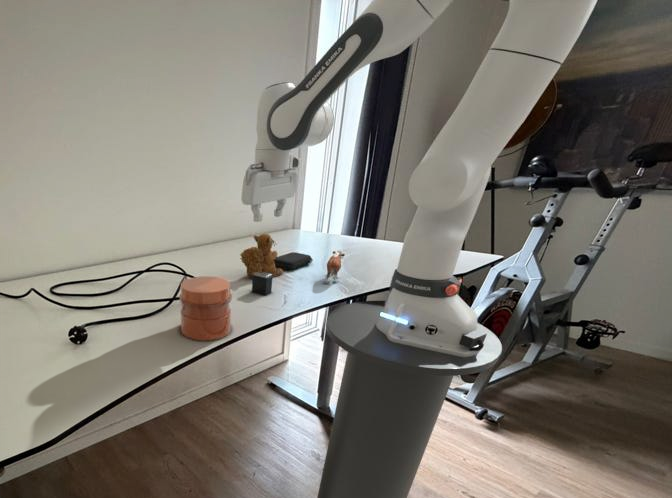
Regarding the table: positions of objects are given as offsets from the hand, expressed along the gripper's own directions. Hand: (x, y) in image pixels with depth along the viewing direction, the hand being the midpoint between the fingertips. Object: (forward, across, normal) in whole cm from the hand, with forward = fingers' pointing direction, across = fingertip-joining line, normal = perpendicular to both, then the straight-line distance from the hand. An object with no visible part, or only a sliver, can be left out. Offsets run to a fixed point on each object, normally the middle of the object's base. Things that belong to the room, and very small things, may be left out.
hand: (268, 218), depth 104 cm
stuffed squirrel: (+21, +12, +10) cm, 26 cm away
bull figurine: (+21, +24, -10) cm, 34 cm away
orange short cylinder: (+21, -31, -5) cm, 38 cm away
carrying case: (+21, +29, +8) cm, 37 cm away
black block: (+21, -1, 0) cm, 21 cm away
